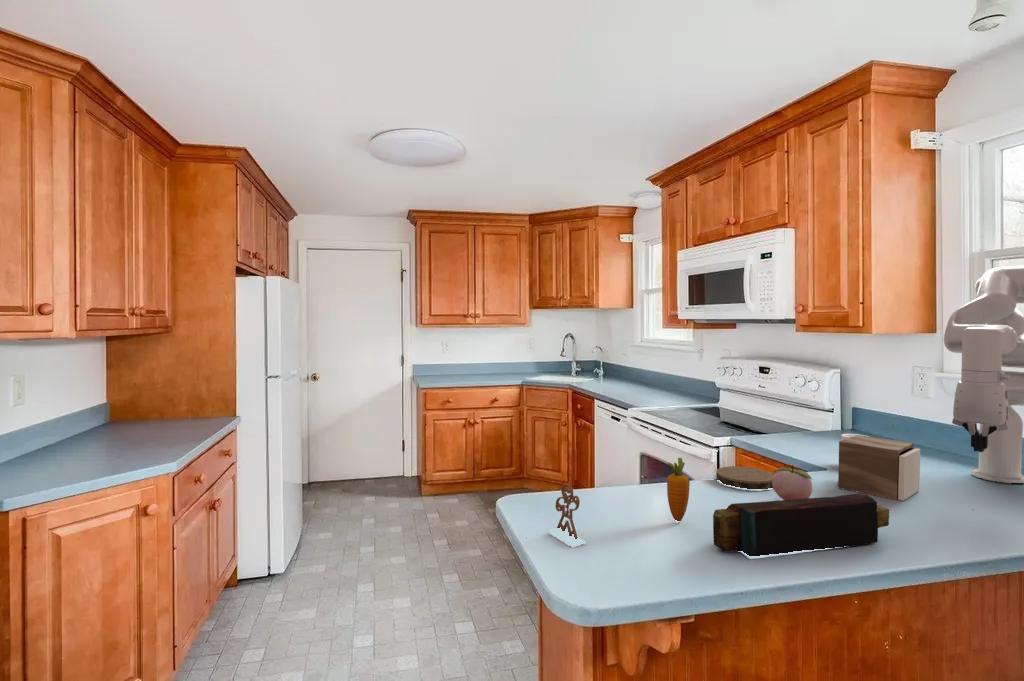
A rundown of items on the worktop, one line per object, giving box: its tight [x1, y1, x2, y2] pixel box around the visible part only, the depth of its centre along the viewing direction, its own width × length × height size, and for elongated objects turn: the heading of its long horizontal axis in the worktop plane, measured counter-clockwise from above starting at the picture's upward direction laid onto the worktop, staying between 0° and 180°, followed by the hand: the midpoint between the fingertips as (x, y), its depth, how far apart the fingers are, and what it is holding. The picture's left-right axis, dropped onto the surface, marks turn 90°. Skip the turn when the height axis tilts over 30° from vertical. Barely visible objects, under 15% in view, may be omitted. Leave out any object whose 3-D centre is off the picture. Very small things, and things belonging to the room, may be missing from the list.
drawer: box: [897, 447, 921, 502], centre depth 154 cm, size 14×14×11 cm
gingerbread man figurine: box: [555, 482, 581, 539], centre depth 119 cm, size 9×4×12 cm, turn 29°
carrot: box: [666, 457, 691, 522], centre depth 128 cm, size 5×5×15 cm
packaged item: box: [712, 493, 890, 556], centre depth 117 cm, size 39×10×10 cm, turn 103°
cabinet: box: [837, 434, 915, 501], centre depth 155 cm, size 14×14×13 cm
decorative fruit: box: [772, 465, 813, 500], centre depth 142 cm, size 9×8×10 cm
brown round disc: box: [715, 465, 775, 489], centre depth 161 cm, size 16×16×3 cm
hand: (979, 450), depth 138 cm, fingers closed
